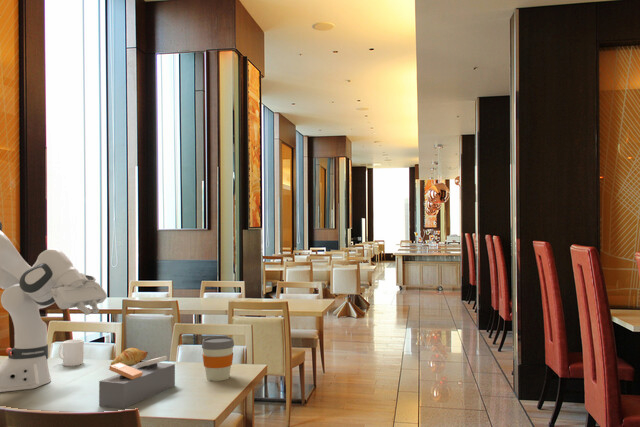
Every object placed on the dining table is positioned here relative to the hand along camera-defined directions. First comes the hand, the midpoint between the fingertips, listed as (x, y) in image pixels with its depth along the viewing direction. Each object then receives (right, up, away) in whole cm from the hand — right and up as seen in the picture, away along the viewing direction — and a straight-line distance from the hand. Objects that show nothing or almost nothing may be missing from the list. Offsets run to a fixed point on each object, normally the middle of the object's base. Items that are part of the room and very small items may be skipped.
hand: (92, 312), depth 187 cm
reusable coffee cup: (+40, -30, +23) cm, 55 cm away
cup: (-31, -32, +49) cm, 67 cm away
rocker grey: (+18, -19, +7) cm, 28 cm away
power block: (+16, -29, 0) cm, 33 cm away
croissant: (-5, -32, +50) cm, 59 cm away
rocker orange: (+14, -19, -6) cm, 24 cm away
